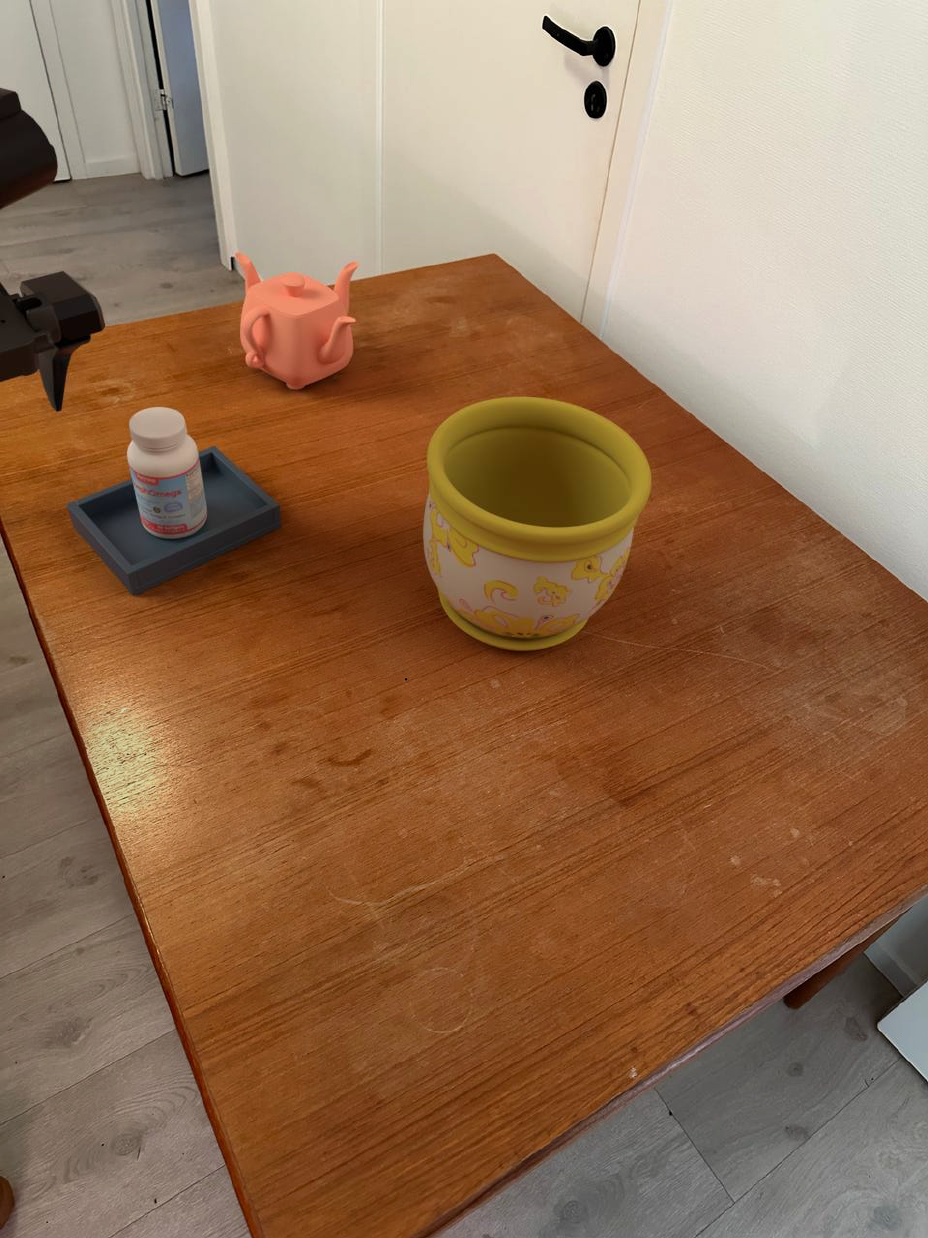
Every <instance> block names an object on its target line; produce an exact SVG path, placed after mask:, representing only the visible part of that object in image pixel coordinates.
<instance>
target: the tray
mask: <svg viewBox="0 0 928 1238" xmlns="http://www.w3.org/2000/svg"><path fill="white" fill-rule="evenodd" d="M198 454H199V460H200V467H201V474H202V481H203V487H204V494H205V500H206V507H207V518H206V521H205V523H204V525H203V526H202V527H201V528H200V529H199V530H198V531H197V532H196V533H194V534H192V535H190V536H187V537H184V538H179V539H165V538H160V537H157V536H154V535H153V534H151V533H149V532H148V531H147V530H146V529H145V527H144V526H143V524H142V520H141V516H140V512H139V507H138V503H137V498H136V494H135V490H134V485H133V481H132V477H131V478H129V479H126V480H124V481H121V482H119V483H117V484H114V485H111V486H109V487H107V488H104V489H101V490H99V491H96V492H93V493H92V494H88V495H85V496H83V497H81V498H79V499H77V500H73V501H71V502H68V503H66V504H65V506H66V509H67V512H68V514H69V518H70V521H71V524H72V527H73V528H74V530H76V532H77V533H78V534H79V535H80V537H82V538H83V540H84V541H85V543H87V544H88V546H90V548H91V549H92V550H93V551H94V553H95V554H96V555H97V556H98V557H99V558H100V560H102V562H103V563H104V564H105V565H106V567H108V569H109V570H110V571H111V572H112V573H113V575H115V577H116V578H117V579H118V580H119V581H120V582H121V583H122V585H123V586H124V587H125V589H127V591H128V592H129V593H130V594H131V595H132V596H133V597H135V596H138V595H140V594H142V593H144V592H146V591H148V590H150V589H153V588H155V587H156V586H157V587H158V586H159V585H161V584H164V583H166V582H167V581H170V580H171V579H174V578H176V577H178V576H180V575H182V574H185V573H187V572H189V571H191V570H193V569H195V568H198V567H199V566H201V565H204V564H206V563H209V562H210V561H212V560H214V559H216V558H218V557H220V556H223V555H225V554H227V553H229V552H231V551H233V550H235V549H237V548H240V547H242V546H244V545H247V544H248V543H250V542H252V541H255V540H256V539H259V538H261V537H263V536H266V535H267V534H270V533H271V532H273V531H275V530H278V529H280V528H282V517H281V506H280V504H279V503H278V502H277V501H276V500H274V498H273V497H272V496H270V495H269V494H268V493H267V492H266V491H265V490H263V488H262V487H260V485H258V484H257V483H256V482H255V481H254V480H252V478H251V477H249V476H248V475H247V474H246V473H245V472H244V471H243V470H242V469H241V468H240V467H239V466H238V465H236V464H235V463H234V462H233V461H232V460H231V459H230V458H229V457H227V456H226V455H225V454H224V453H223V452H222V451H221V450H220V449H219V448H217V446H216V445H211V446H209V447H208V448H204V449H203V450H200V451H198Z"/></svg>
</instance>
